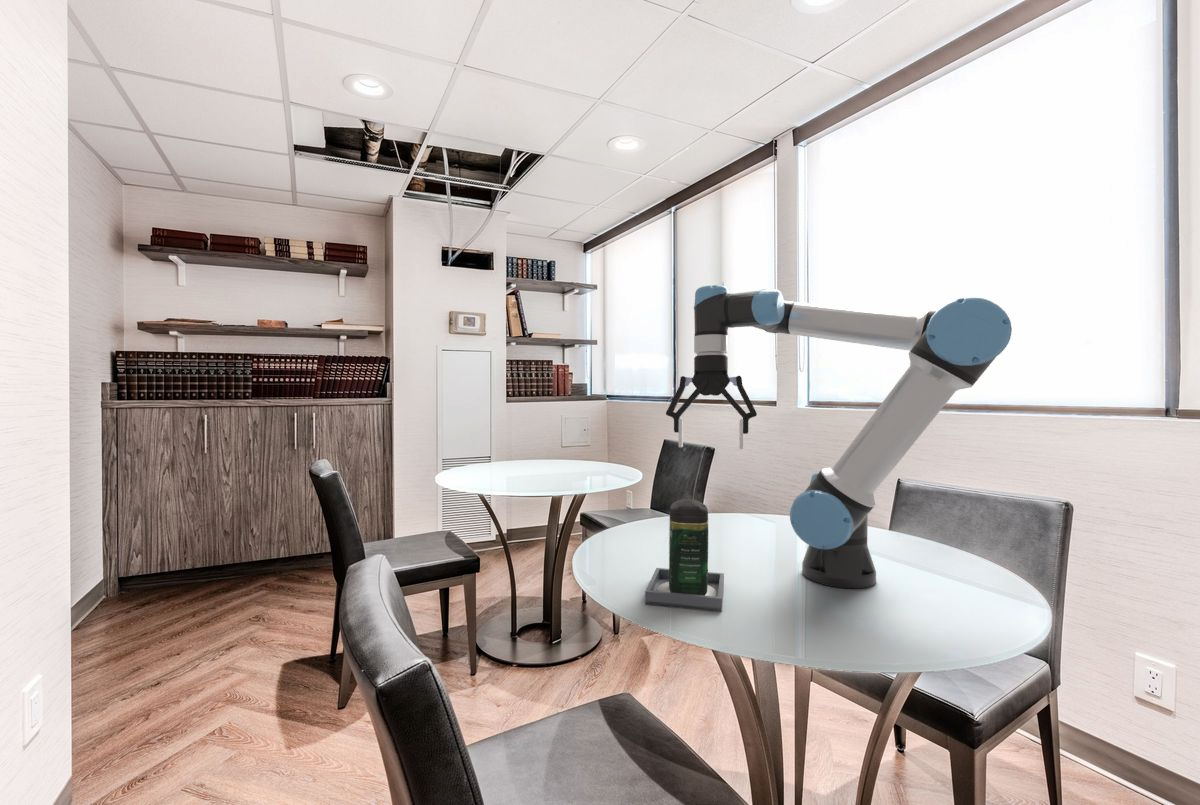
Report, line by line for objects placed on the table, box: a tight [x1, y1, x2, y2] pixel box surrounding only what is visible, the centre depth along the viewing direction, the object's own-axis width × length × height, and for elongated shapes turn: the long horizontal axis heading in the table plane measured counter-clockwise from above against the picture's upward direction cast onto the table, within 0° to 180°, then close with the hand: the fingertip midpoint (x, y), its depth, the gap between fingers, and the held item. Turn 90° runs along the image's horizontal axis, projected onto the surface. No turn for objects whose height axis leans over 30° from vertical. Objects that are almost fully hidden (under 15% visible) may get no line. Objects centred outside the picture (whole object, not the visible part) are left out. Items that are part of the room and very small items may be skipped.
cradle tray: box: [644, 567, 725, 613], centre depth 109 cm, size 15×15×2 cm
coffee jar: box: [668, 498, 709, 596], centre depth 109 cm, size 10×8×19 cm
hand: (710, 447), depth 122 cm, fingers open, 13 cm apart
